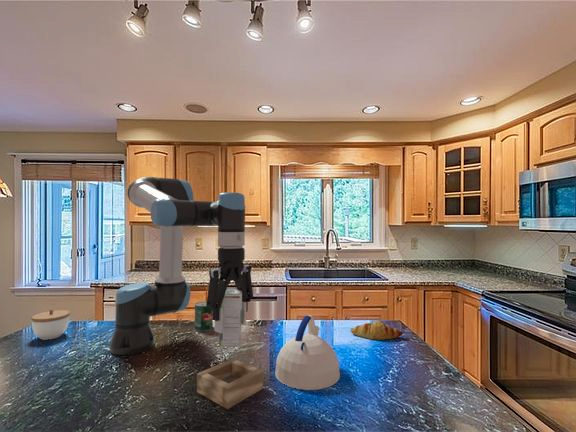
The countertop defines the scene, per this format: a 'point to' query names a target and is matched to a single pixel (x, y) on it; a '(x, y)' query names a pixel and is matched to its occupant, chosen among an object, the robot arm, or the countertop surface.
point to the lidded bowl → (50, 324)
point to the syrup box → (231, 318)
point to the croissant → (376, 331)
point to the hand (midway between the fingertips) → (230, 327)
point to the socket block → (229, 382)
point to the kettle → (307, 360)
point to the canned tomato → (203, 317)
